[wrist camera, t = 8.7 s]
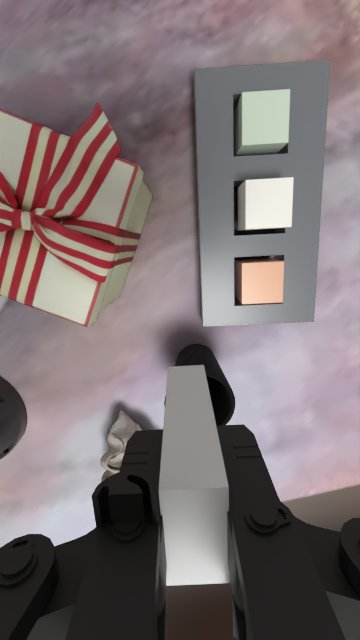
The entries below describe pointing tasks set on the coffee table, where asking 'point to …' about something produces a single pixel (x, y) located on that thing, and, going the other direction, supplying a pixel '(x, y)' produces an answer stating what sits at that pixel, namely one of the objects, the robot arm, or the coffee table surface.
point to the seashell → (118, 444)
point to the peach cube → (259, 281)
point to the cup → (211, 380)
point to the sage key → (261, 122)
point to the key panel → (228, 171)
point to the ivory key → (265, 203)
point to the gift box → (67, 216)
